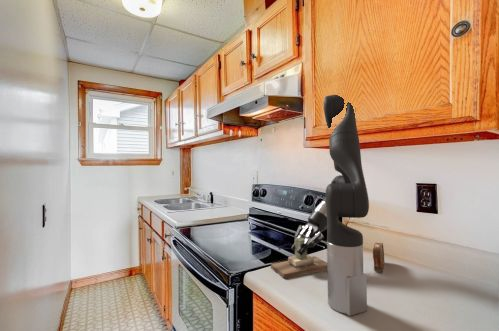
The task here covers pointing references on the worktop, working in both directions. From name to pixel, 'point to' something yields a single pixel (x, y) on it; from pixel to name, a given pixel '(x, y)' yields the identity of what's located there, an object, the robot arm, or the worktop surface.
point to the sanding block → (300, 259)
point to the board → (298, 268)
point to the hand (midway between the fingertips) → (296, 251)
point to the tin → (378, 257)
